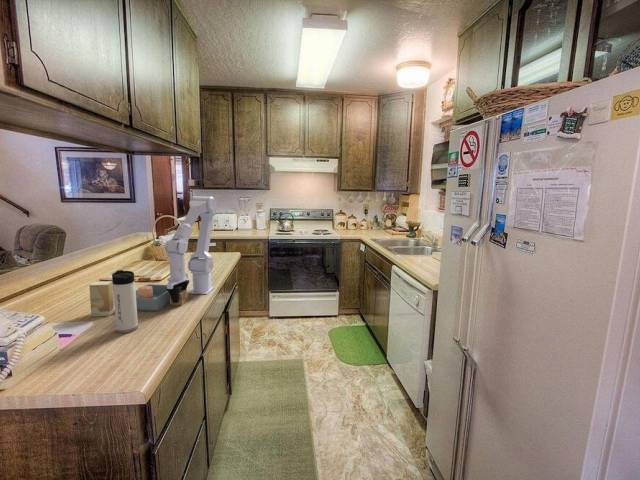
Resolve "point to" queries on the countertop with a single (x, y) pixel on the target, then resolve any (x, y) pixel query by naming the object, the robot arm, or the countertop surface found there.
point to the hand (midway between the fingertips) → (178, 299)
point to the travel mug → (125, 301)
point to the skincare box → (101, 298)
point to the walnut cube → (180, 298)
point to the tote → (158, 301)
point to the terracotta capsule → (145, 292)
